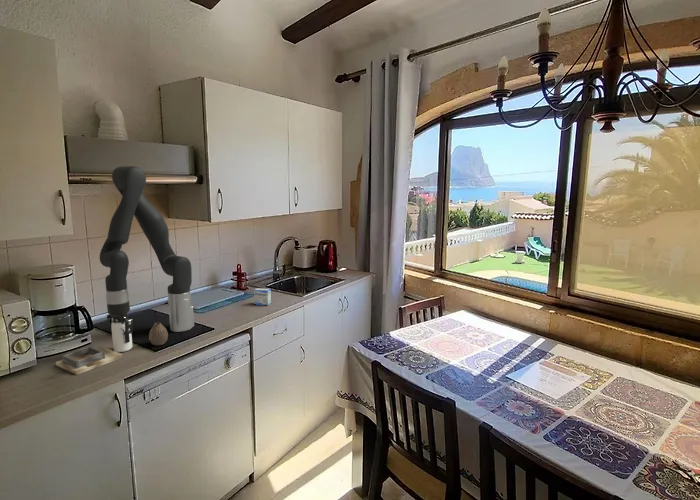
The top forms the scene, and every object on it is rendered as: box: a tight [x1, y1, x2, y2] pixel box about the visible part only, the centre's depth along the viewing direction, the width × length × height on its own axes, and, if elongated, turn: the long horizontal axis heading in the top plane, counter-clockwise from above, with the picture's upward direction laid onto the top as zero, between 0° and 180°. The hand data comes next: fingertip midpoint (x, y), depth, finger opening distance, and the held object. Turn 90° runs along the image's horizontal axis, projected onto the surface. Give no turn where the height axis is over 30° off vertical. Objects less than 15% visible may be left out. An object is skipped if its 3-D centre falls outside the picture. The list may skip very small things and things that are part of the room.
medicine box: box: [253, 287, 272, 306], centre depth 214 cm, size 8×4×9 cm, turn 80°
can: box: [111, 321, 133, 353], centre depth 155 cm, size 6×6×12 cm
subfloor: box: [55, 346, 124, 376], centre depth 145 cm, size 16×14×4 cm
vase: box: [148, 322, 169, 347], centre depth 161 cm, size 7×7×9 cm
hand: (121, 341), depth 155 cm, fingers closed on can, 5 cm apart
